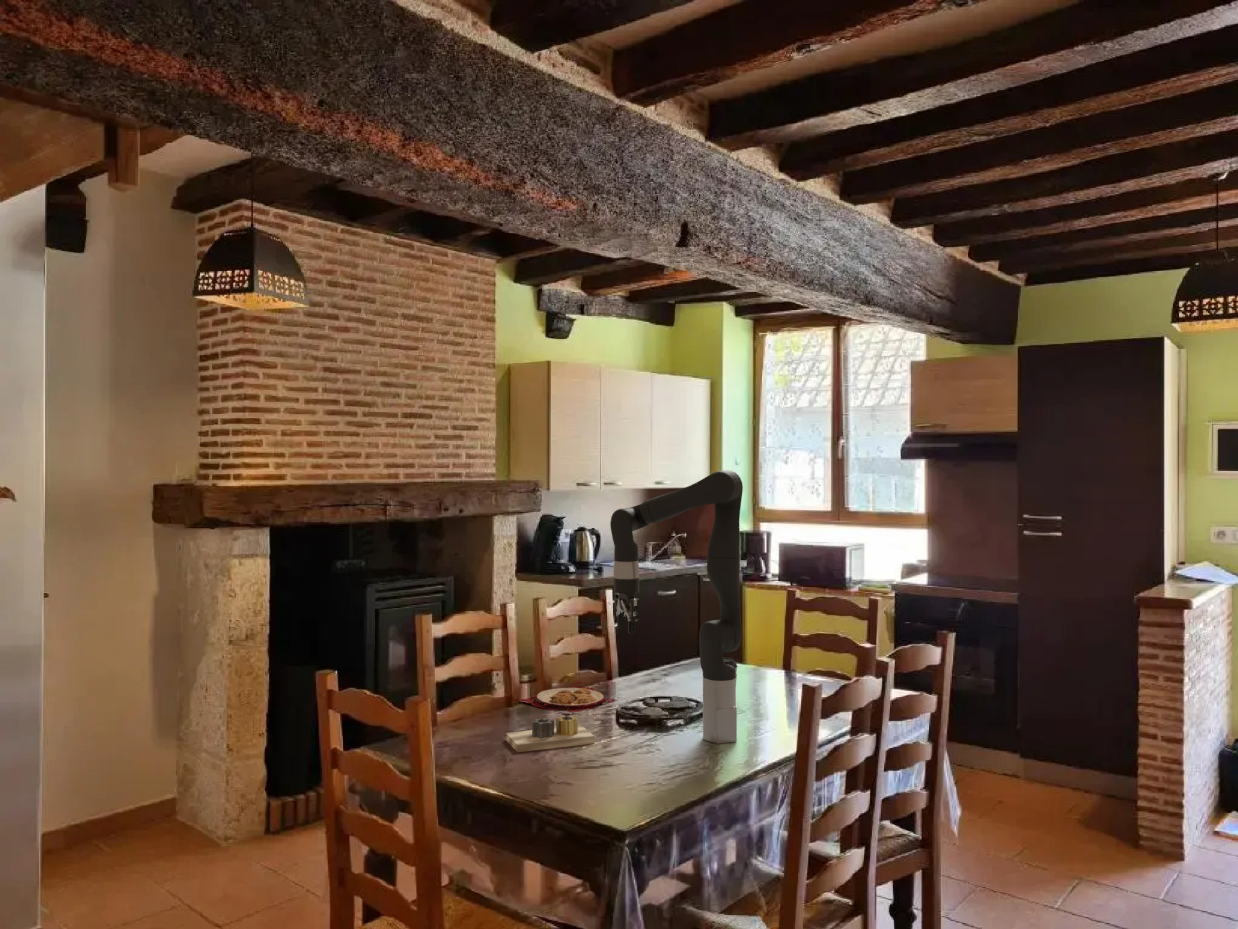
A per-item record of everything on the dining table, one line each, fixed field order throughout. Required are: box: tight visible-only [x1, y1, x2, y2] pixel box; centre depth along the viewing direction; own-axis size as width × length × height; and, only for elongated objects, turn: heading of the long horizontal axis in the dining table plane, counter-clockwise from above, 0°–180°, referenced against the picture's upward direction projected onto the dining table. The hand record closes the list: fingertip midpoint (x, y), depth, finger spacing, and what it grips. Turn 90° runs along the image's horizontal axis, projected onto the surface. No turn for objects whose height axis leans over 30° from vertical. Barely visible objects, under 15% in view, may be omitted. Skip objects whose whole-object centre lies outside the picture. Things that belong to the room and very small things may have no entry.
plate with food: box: [519, 680, 617, 716], centre depth 304 cm, size 24×26×3 cm
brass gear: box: [555, 715, 579, 736], centre depth 262 cm, size 6×6×4 cm
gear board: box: [505, 715, 596, 753], centre depth 260 cm, size 12×22×6 cm, turn 111°
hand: (626, 631), depth 274 cm, fingers open, 8 cm apart
